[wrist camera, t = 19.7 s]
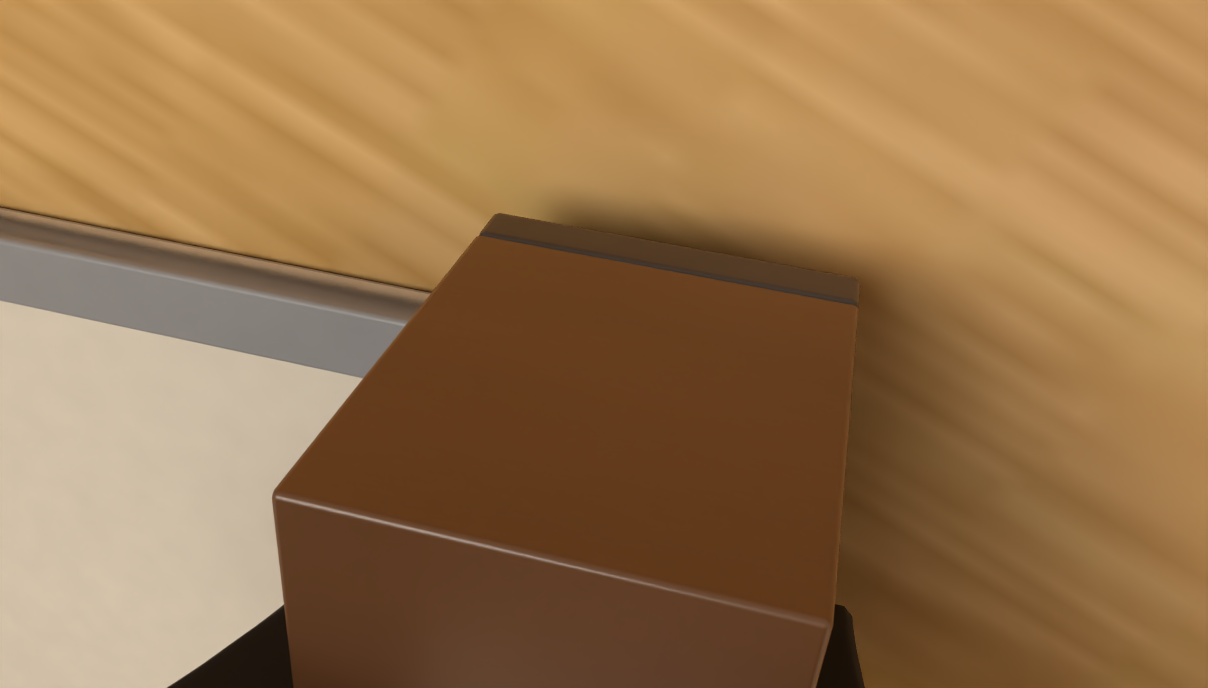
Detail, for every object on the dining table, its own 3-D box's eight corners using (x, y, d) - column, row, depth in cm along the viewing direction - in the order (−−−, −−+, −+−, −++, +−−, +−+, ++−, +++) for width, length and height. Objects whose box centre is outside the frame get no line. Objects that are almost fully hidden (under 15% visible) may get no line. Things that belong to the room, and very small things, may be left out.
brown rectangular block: (744, 762, 15) (685, 1159, 11) (481, 693, 16) (331, 1044, 12) (862, 275, 11) (834, 625, 7) (495, 210, 12) (267, 492, 8)
